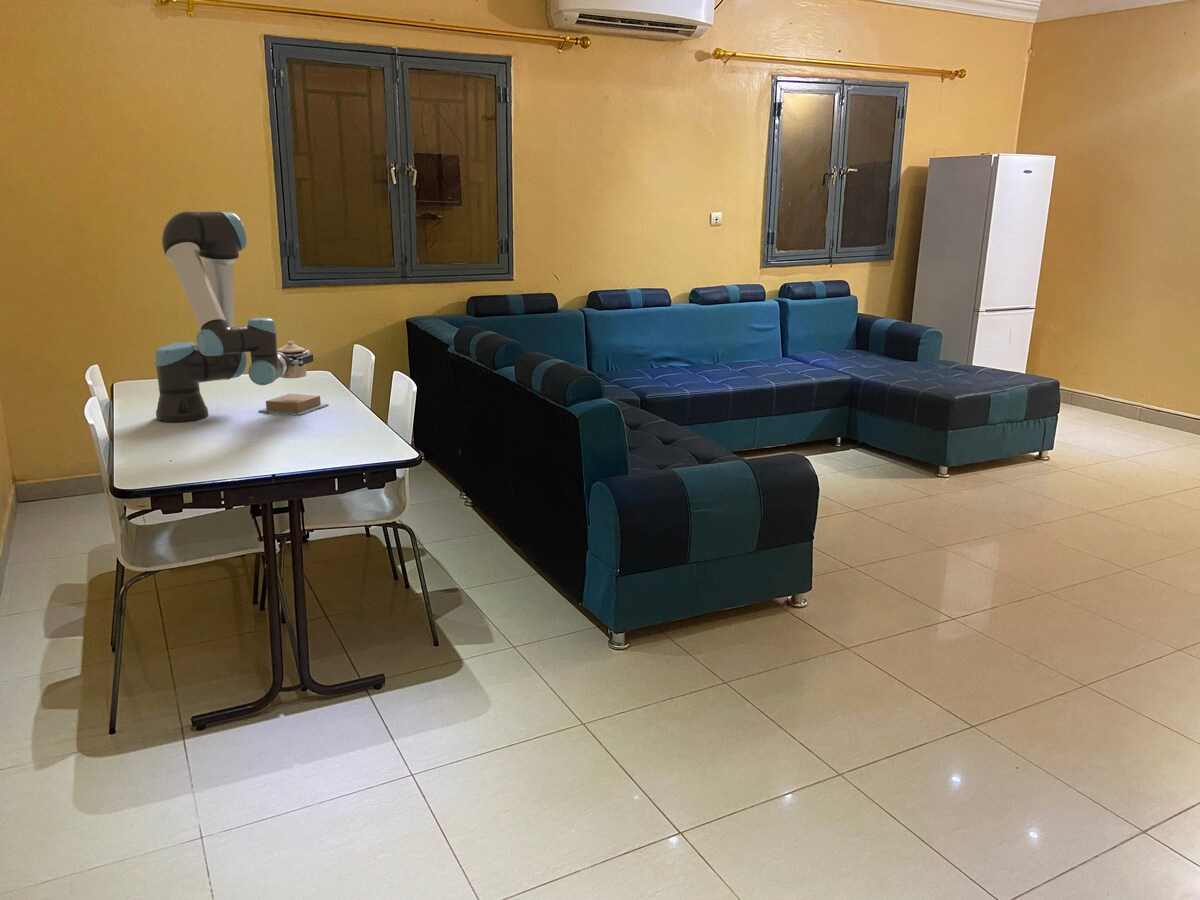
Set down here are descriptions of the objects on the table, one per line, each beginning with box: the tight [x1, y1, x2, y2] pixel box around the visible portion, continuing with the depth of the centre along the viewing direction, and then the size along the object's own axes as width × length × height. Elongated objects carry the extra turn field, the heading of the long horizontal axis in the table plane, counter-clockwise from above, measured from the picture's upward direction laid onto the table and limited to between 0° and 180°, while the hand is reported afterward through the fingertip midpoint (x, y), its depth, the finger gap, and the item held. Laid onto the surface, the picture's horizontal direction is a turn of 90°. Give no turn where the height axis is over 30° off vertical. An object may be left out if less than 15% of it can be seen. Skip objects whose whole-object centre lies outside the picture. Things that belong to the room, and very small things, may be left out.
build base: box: [258, 393, 329, 416], centre depth 294 cm, size 16×16×4 cm
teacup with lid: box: [277, 340, 307, 379], centre depth 290 cm, size 12×9×12 cm
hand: (293, 353), depth 294 cm, fingers closed on teacup with lid, 9 cm apart
